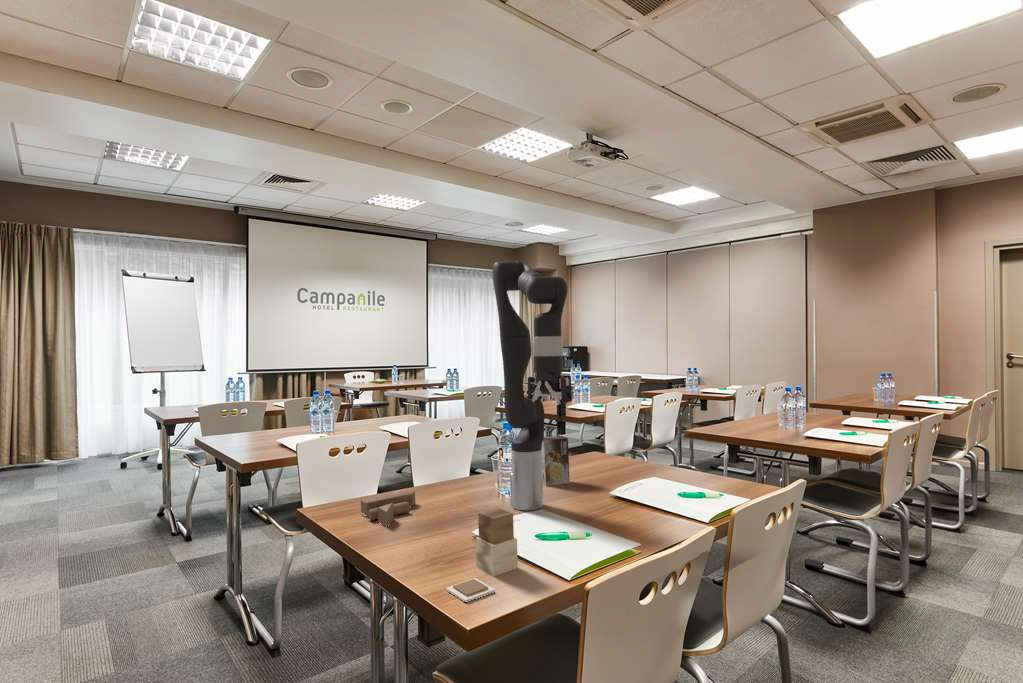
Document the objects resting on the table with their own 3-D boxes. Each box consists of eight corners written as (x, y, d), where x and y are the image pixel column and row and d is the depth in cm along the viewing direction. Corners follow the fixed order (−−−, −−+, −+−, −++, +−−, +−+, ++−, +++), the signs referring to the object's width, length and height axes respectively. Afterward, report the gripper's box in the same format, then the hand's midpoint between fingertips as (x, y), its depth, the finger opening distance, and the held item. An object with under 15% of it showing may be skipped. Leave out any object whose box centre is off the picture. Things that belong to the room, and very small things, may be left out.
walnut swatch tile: (446, 590, 107) (446, 585, 107) (475, 580, 111) (475, 575, 111) (465, 603, 102) (465, 598, 102) (495, 592, 106) (495, 587, 106)
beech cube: (476, 567, 119) (475, 537, 119) (499, 559, 123) (499, 530, 123) (493, 576, 113) (492, 545, 114) (517, 568, 117) (517, 538, 117)
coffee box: (563, 479, 194) (562, 435, 194) (570, 484, 188) (569, 438, 188) (539, 482, 192) (538, 437, 192) (545, 486, 186) (544, 439, 186)
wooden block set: (357, 496, 158) (411, 485, 170) (357, 516, 158) (411, 503, 170) (382, 509, 145) (439, 496, 157) (383, 530, 145) (440, 515, 157)
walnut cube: (478, 537, 118) (478, 512, 119) (498, 532, 122) (498, 507, 122) (493, 544, 114) (493, 518, 114) (513, 538, 118) (513, 513, 118)
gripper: (578, 354, 134) (580, 419, 133) (540, 354, 145) (542, 414, 145) (556, 354, 129) (557, 422, 129) (519, 354, 140) (520, 417, 140)
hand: (549, 418), depth 137 cm, fingers open, 8 cm apart
